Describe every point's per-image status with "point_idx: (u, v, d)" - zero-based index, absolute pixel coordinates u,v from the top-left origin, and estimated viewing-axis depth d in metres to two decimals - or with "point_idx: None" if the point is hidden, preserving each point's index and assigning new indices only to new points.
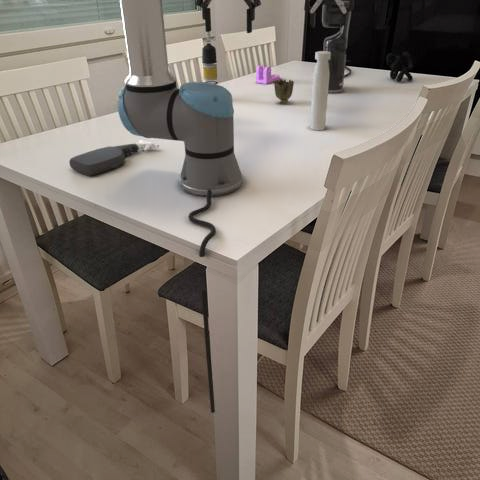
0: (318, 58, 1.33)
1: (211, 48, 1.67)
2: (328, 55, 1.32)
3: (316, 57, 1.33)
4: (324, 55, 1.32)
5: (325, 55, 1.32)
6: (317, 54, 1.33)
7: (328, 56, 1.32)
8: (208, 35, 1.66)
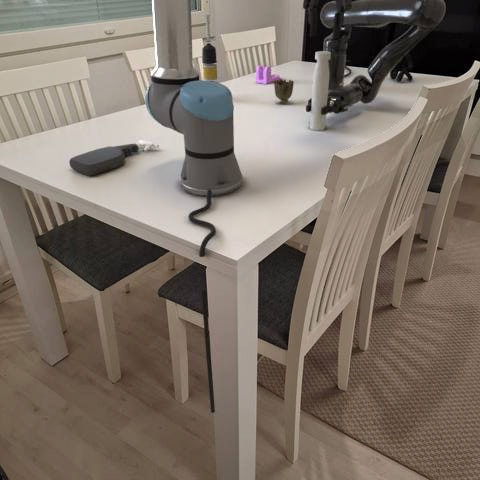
0: (318, 58, 1.33)
1: (211, 48, 1.67)
2: (328, 55, 1.32)
3: (316, 57, 1.33)
4: (324, 55, 1.32)
5: (325, 55, 1.32)
6: (317, 54, 1.33)
7: (328, 56, 1.32)
8: (208, 35, 1.66)
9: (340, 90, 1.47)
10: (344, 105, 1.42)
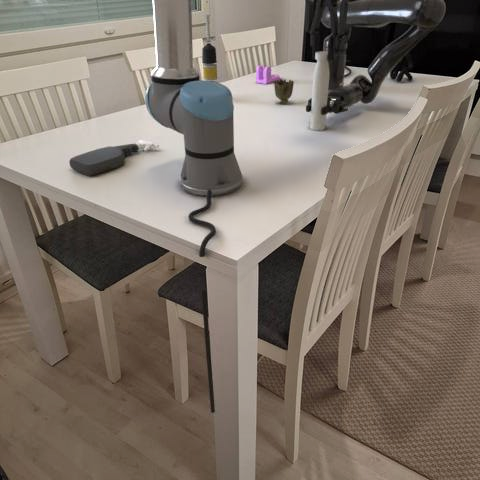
0: (318, 58, 1.33)
1: (211, 48, 1.67)
2: None
3: (316, 57, 1.33)
4: (324, 55, 1.32)
5: (325, 55, 1.32)
6: (317, 54, 1.33)
7: None
8: (208, 35, 1.66)
9: (340, 90, 1.47)
10: (344, 105, 1.42)
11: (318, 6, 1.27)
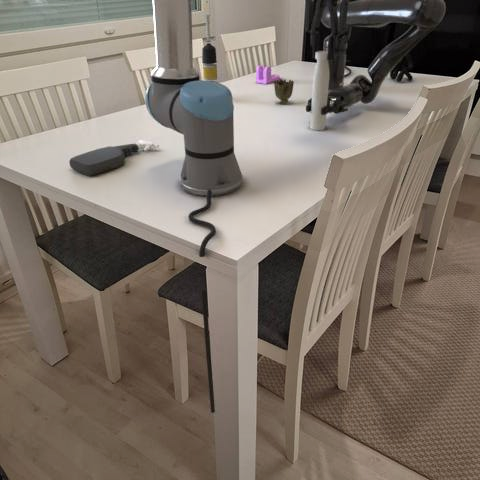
0: None
1: (211, 48, 1.67)
2: None
3: (325, 57, 1.32)
4: None
5: None
6: (327, 54, 1.32)
7: None
8: (208, 35, 1.66)
9: (340, 90, 1.47)
10: (344, 105, 1.42)
11: (318, 6, 1.27)
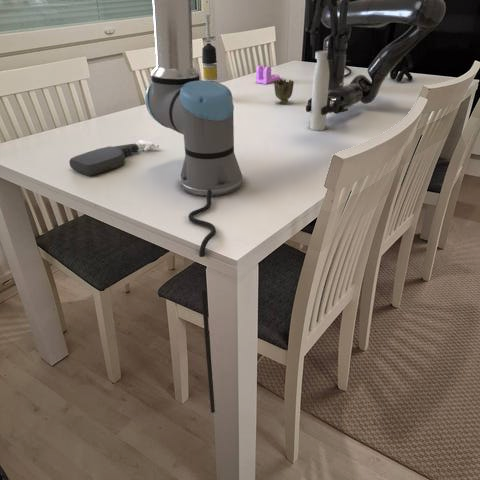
0: None
1: (211, 48, 1.67)
2: None
3: None
4: None
5: None
6: None
7: None
8: (208, 35, 1.66)
9: (340, 90, 1.47)
10: (344, 105, 1.42)
11: (318, 5, 1.26)
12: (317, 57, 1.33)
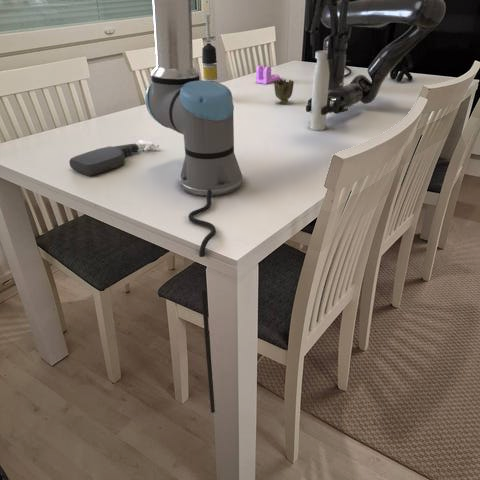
0: None
1: (211, 48, 1.67)
2: (315, 54, 1.33)
3: None
4: None
5: (315, 53, 1.34)
6: None
7: (315, 55, 1.33)
8: (208, 35, 1.66)
9: (340, 90, 1.47)
10: (344, 105, 1.42)
11: (318, 5, 1.26)
12: None
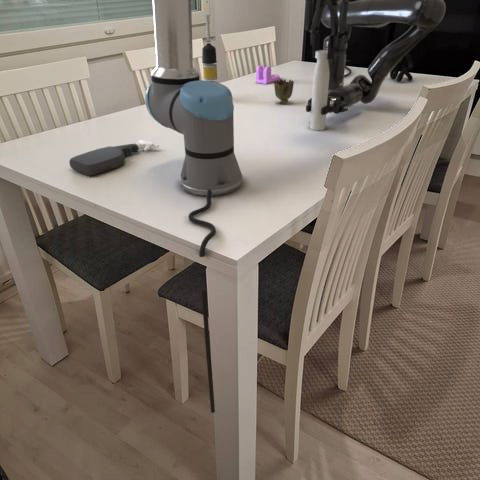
0: (315, 56, 1.34)
1: (211, 48, 1.67)
2: (324, 54, 1.32)
3: None
4: (319, 54, 1.32)
5: (320, 54, 1.32)
6: None
7: (324, 55, 1.32)
8: (208, 35, 1.66)
9: (340, 90, 1.47)
10: (344, 105, 1.42)
11: (318, 5, 1.26)
12: None
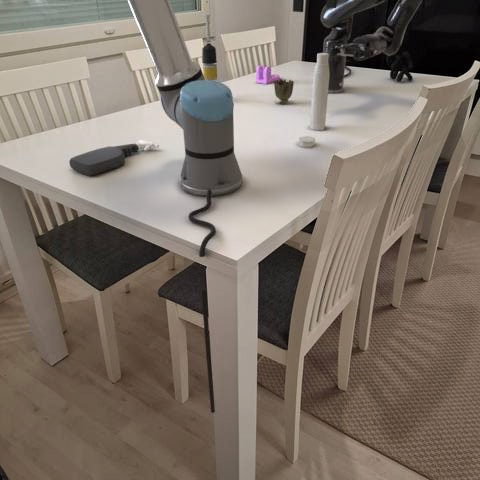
0: None
1: (211, 48, 1.67)
2: None
3: (313, 144, 1.31)
4: None
5: None
6: (314, 140, 1.31)
7: None
8: (208, 35, 1.66)
9: (366, 37, 1.48)
10: (374, 49, 1.43)
11: None
12: (299, 143, 1.32)
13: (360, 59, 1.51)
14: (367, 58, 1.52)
